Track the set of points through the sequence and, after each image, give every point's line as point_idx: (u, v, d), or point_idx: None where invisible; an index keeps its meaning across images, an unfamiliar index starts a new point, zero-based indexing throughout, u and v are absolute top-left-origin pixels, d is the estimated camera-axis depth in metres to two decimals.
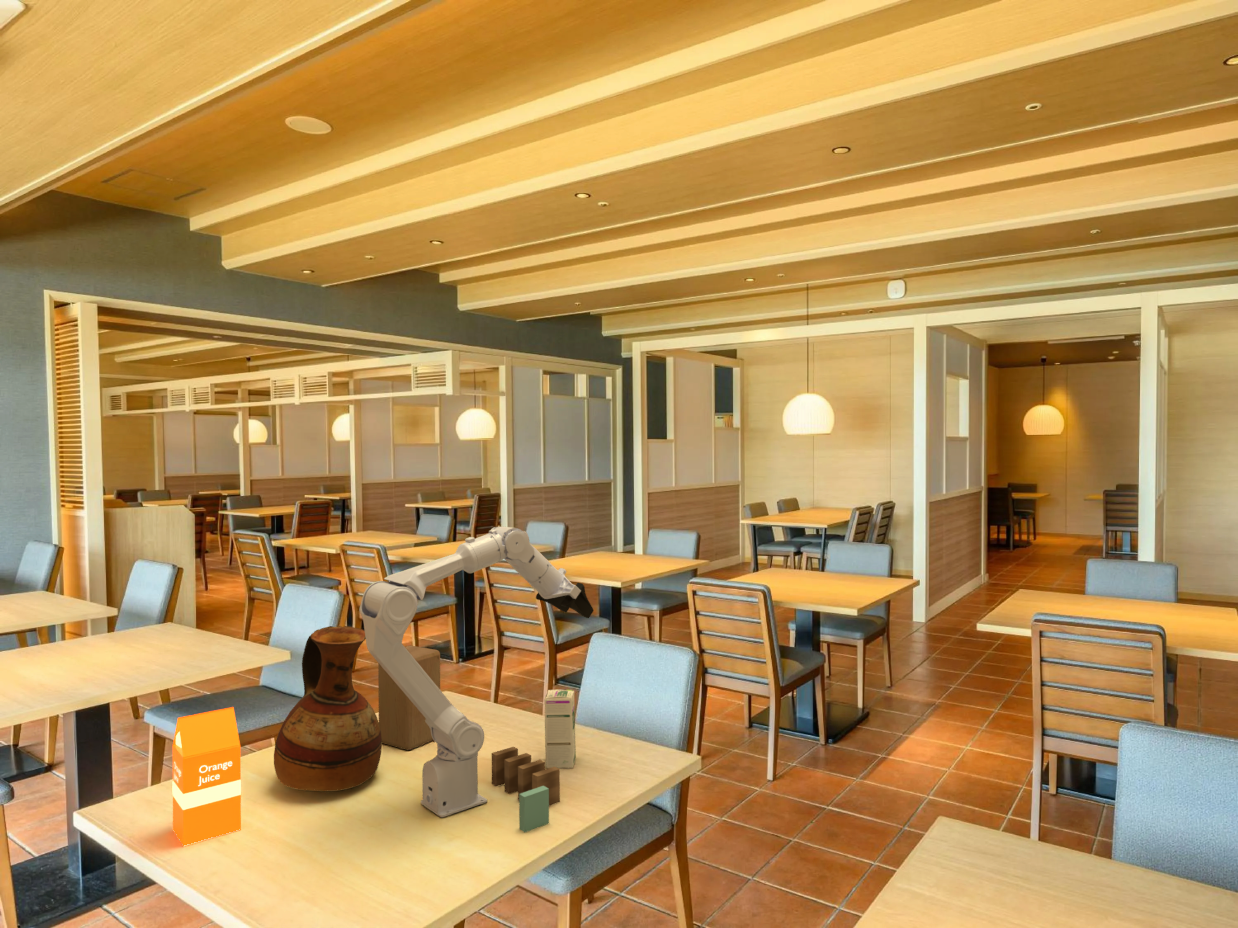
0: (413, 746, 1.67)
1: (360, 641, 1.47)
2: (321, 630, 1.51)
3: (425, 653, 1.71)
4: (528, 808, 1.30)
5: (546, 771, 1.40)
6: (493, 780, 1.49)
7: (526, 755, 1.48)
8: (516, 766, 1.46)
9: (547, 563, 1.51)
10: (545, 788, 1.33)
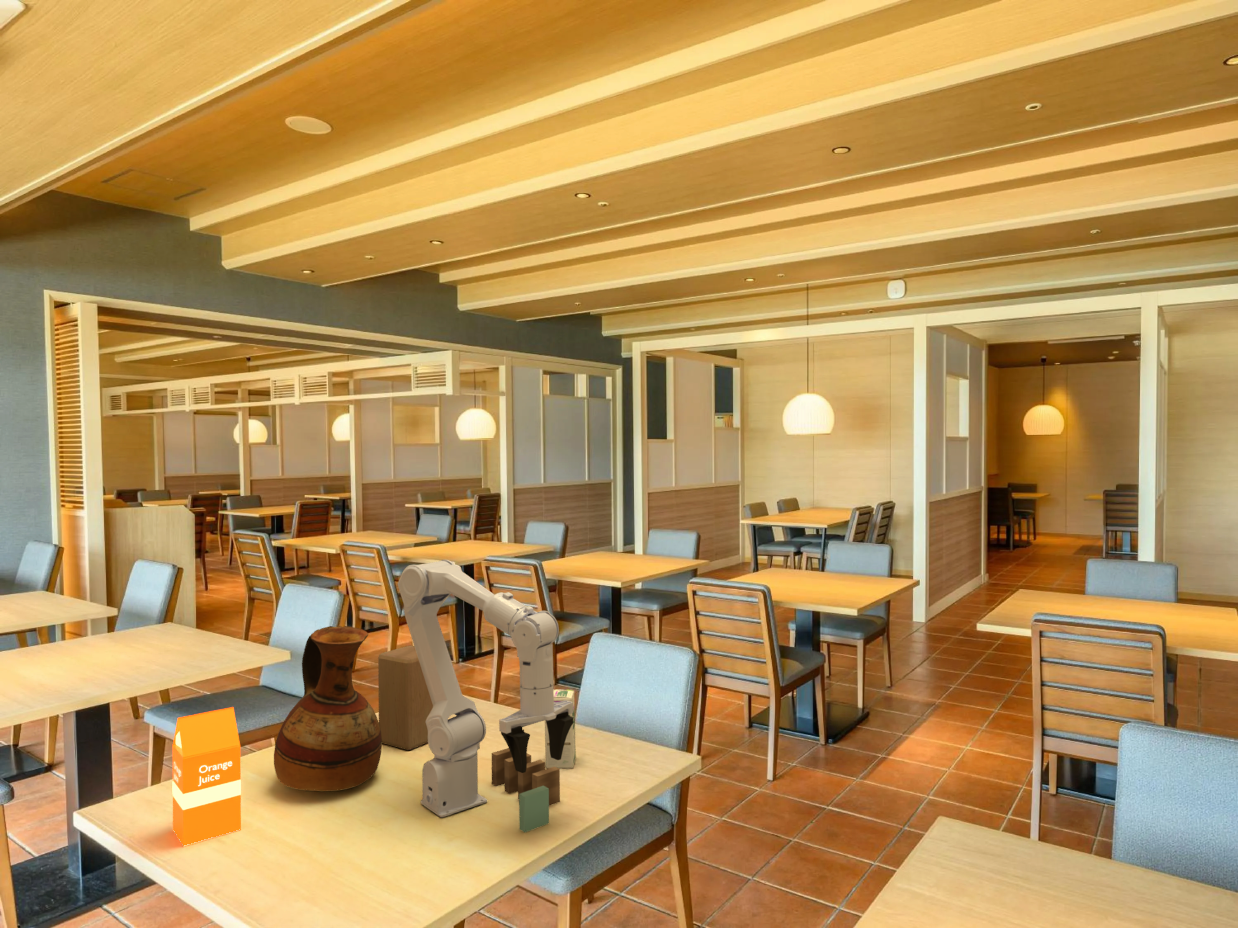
0: (413, 746, 1.67)
1: (360, 641, 1.47)
2: (321, 630, 1.51)
3: None
4: (528, 808, 1.30)
5: (546, 771, 1.40)
6: (493, 780, 1.49)
7: None
8: None
9: (537, 686, 1.30)
10: (545, 788, 1.33)
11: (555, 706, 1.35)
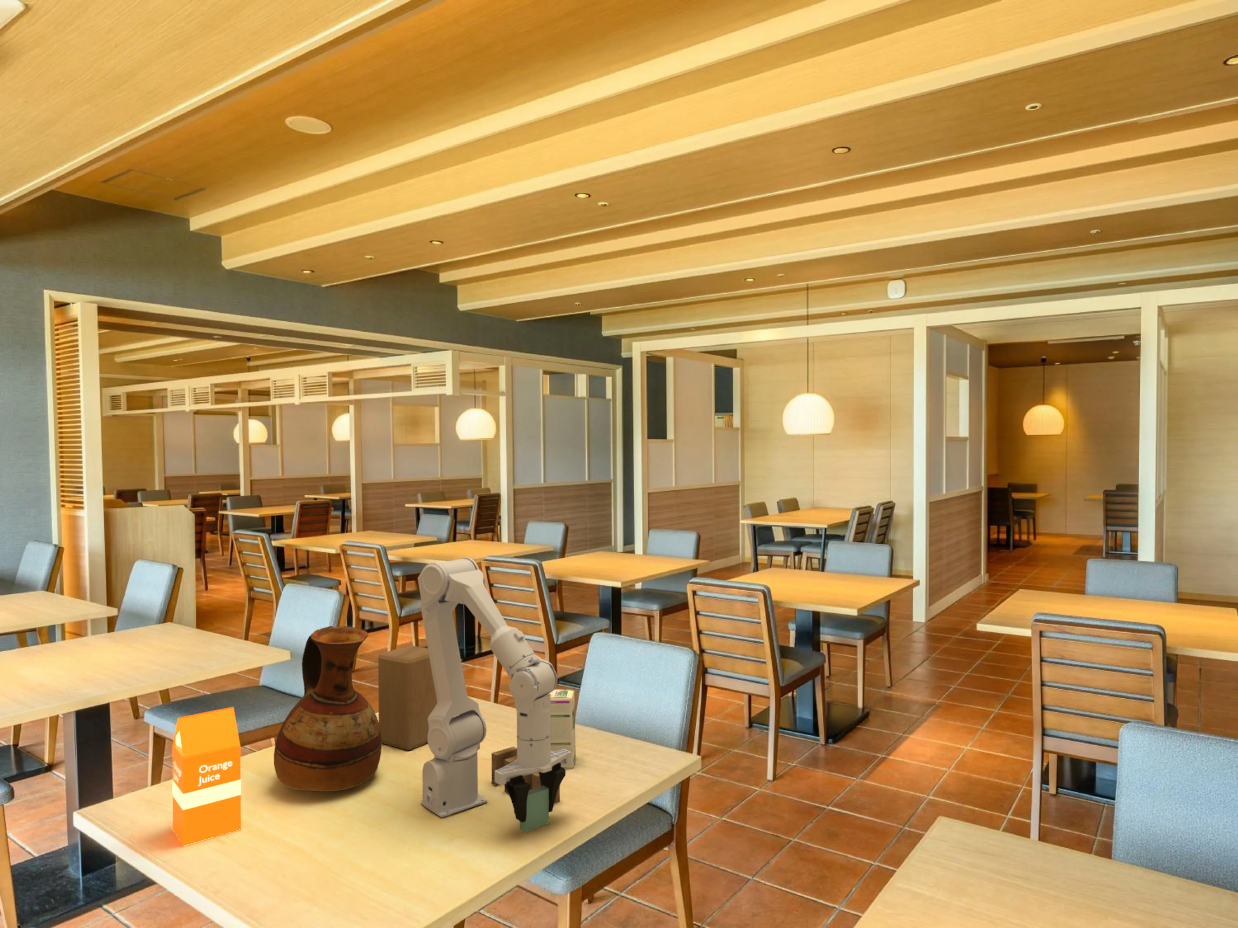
0: (413, 746, 1.67)
1: (360, 641, 1.47)
2: (321, 630, 1.51)
3: (425, 653, 1.71)
4: (528, 808, 1.30)
5: None
6: (493, 780, 1.49)
7: None
8: None
9: (533, 738, 1.29)
10: (545, 788, 1.33)
11: (552, 756, 1.35)
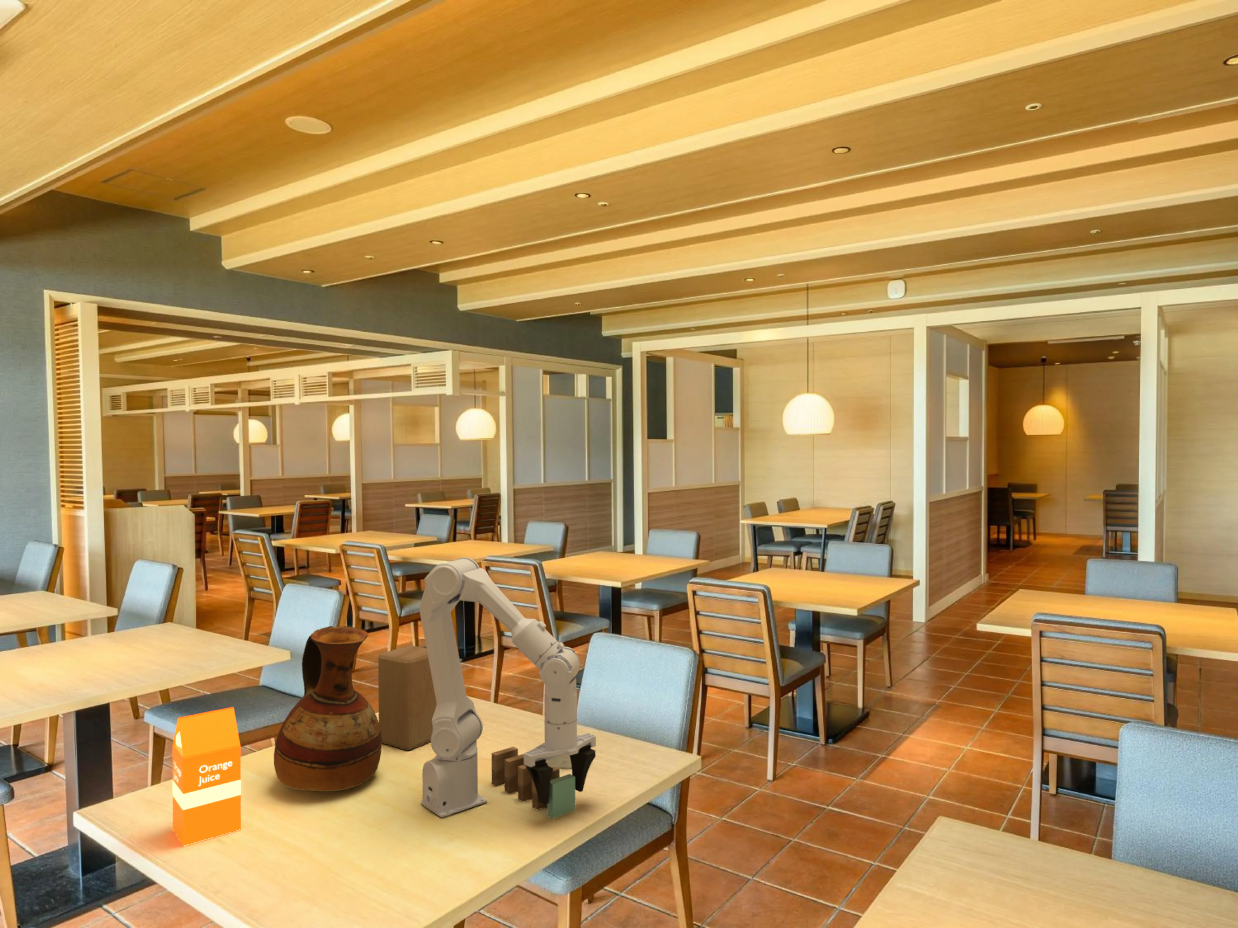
0: (413, 746, 1.67)
1: (360, 641, 1.47)
2: (321, 630, 1.51)
3: (425, 653, 1.71)
4: (556, 795, 1.35)
5: None
6: (493, 780, 1.49)
7: None
8: (516, 766, 1.46)
9: (566, 721, 1.35)
10: (572, 776, 1.38)
11: (578, 739, 1.40)
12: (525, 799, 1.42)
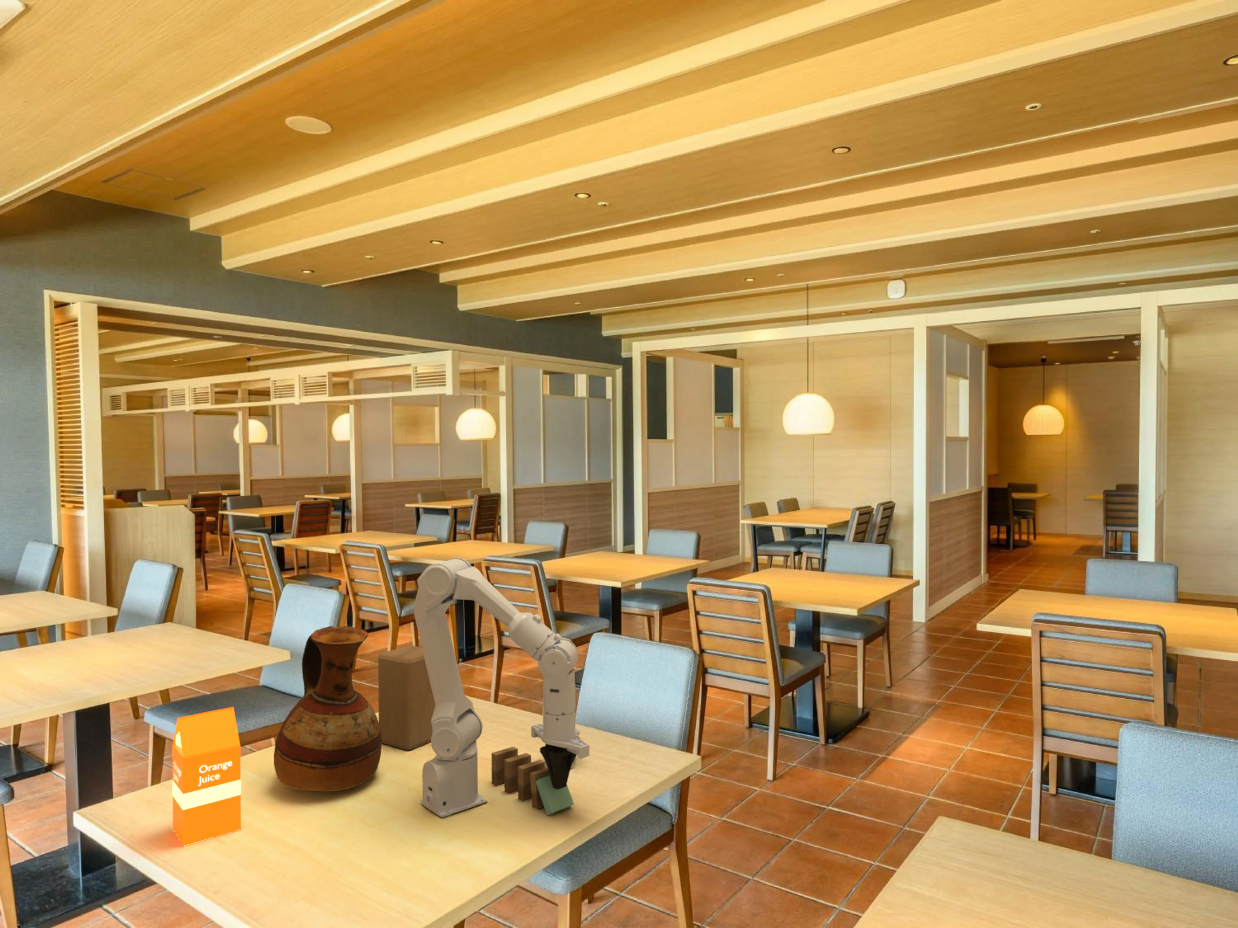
0: (413, 746, 1.67)
1: (360, 641, 1.47)
2: (321, 630, 1.51)
3: None
4: (547, 789, 1.37)
5: (544, 770, 1.41)
6: (493, 780, 1.49)
7: (526, 755, 1.48)
8: (516, 766, 1.46)
9: (565, 712, 1.35)
10: None
11: None
12: (525, 799, 1.42)
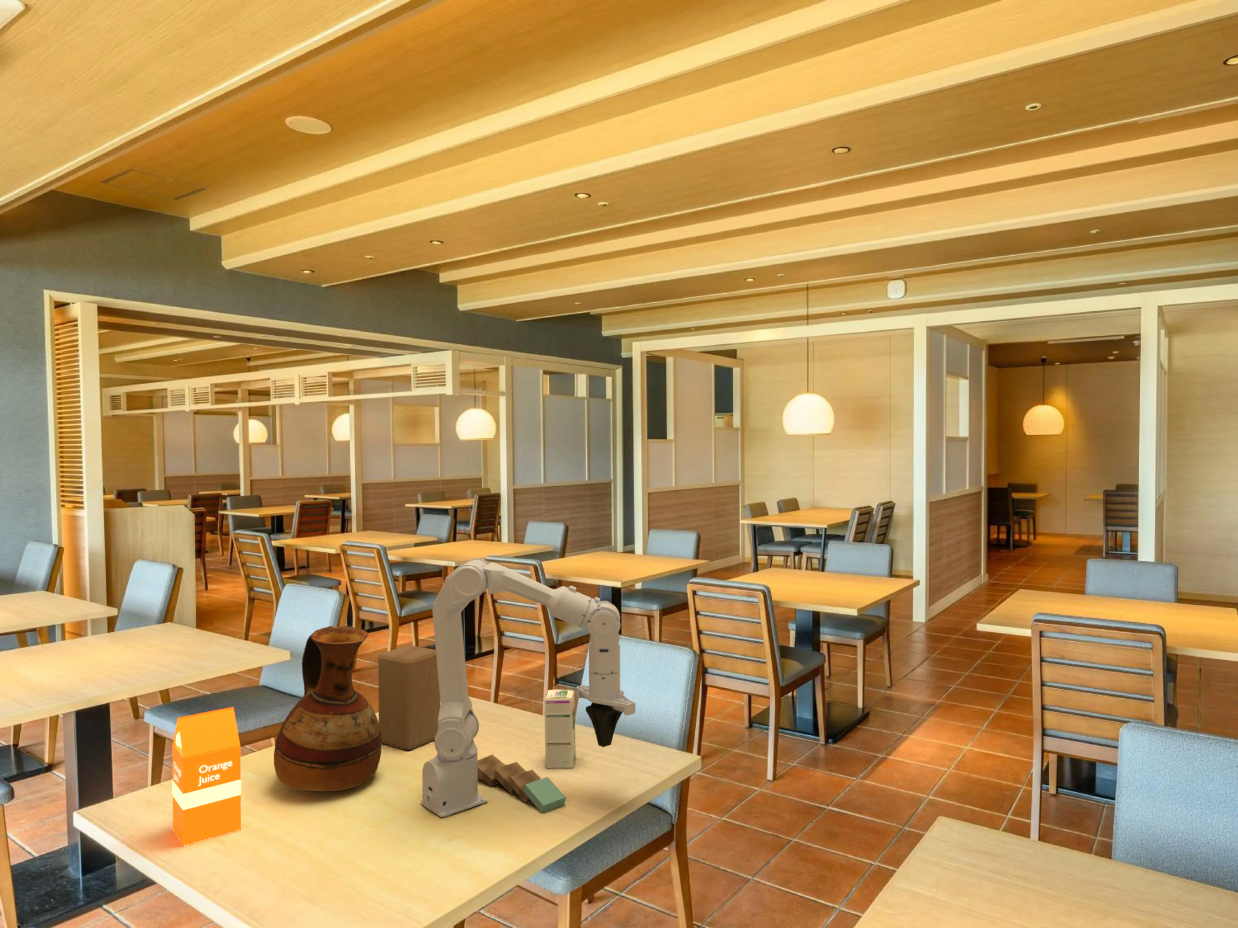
0: (413, 746, 1.67)
1: (360, 641, 1.47)
2: (321, 630, 1.51)
3: (425, 653, 1.71)
4: (535, 790, 1.40)
5: None
6: (483, 780, 1.51)
7: None
8: (483, 763, 1.52)
9: (613, 671, 1.39)
10: (545, 778, 1.44)
11: None
12: None
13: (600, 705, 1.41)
